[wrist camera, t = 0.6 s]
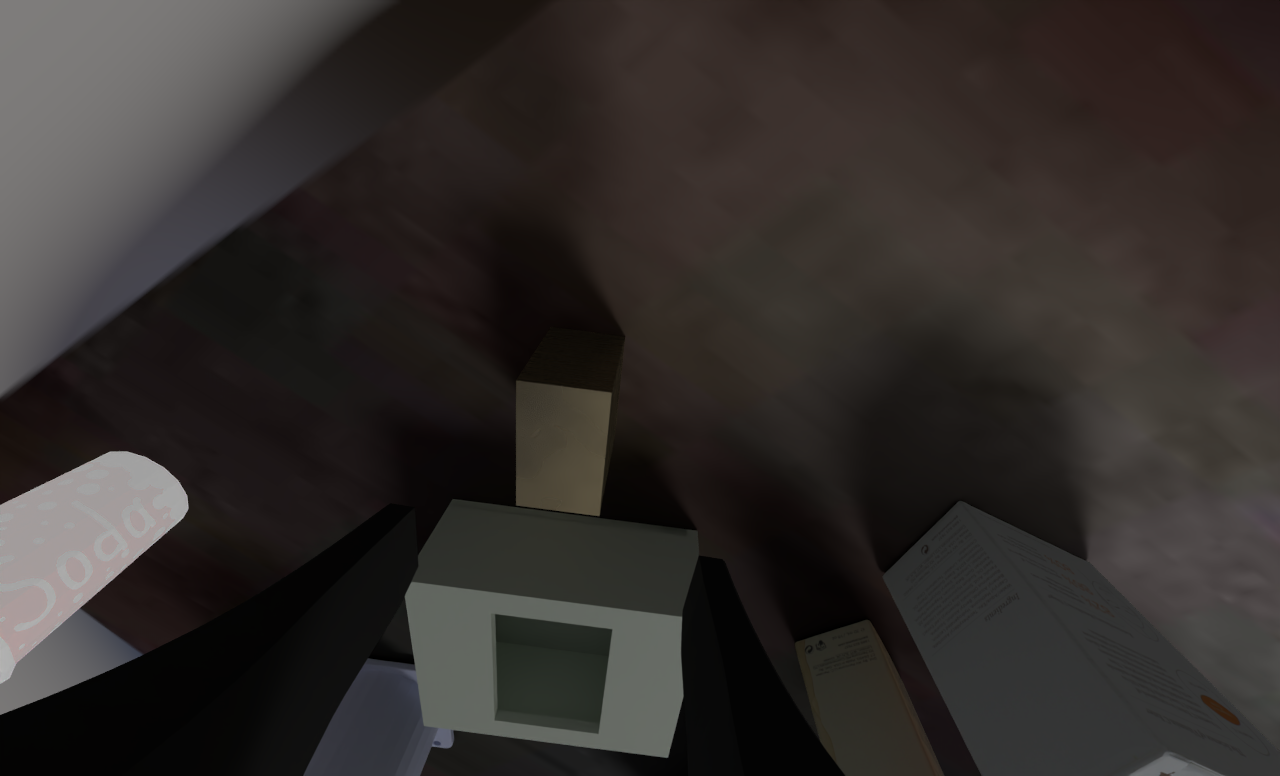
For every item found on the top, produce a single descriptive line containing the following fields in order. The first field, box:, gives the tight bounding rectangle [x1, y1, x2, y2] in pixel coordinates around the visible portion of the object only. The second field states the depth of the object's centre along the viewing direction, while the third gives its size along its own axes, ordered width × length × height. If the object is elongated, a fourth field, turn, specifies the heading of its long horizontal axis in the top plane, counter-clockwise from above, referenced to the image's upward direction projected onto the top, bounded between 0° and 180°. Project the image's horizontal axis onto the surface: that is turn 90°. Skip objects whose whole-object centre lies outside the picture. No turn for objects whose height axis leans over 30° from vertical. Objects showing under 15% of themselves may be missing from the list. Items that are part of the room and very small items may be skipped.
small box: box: [883, 501, 1280, 776], centre depth 19 cm, size 8×6×10 cm
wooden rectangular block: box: [516, 327, 625, 516], centre depth 19 cm, size 3×5×5 cm, turn 174°
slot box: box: [405, 499, 699, 758], centre depth 24 cm, size 12×10×5 cm
